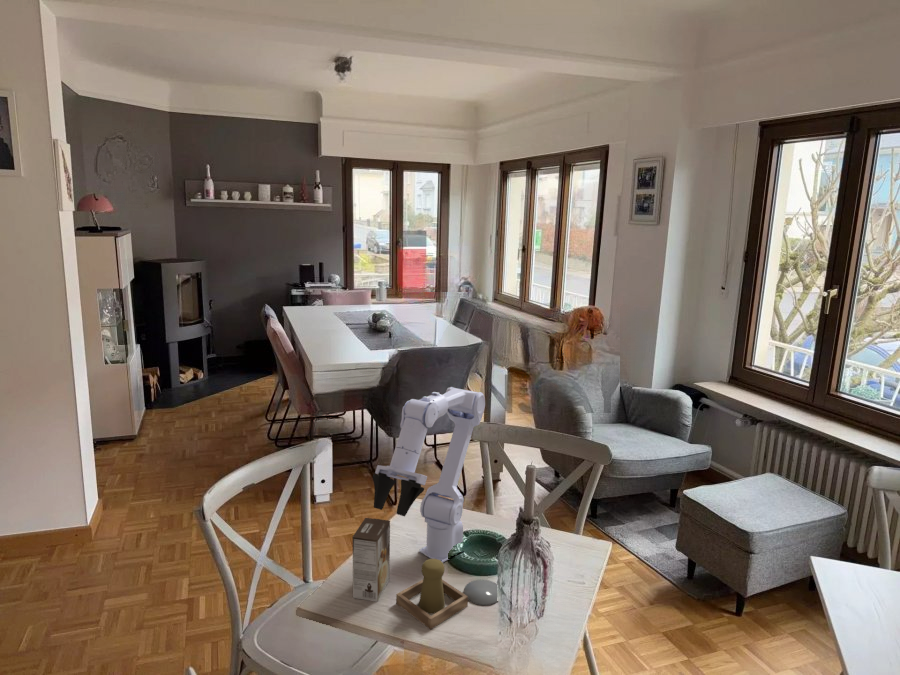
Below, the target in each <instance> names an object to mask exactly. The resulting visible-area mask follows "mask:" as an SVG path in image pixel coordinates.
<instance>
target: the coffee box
mask: <svg viewBox="0 0 900 675" xmlns="http://www.w3.org/2000/svg"><path fill="white" fill-rule="evenodd" d="M390 522H391V520H388V519H379V518H373V517H371V518H370V517H364V519H363V520H362V522H361V524H360V525H359V527H358V528H357V530H356V531H355V532H354V534H353V535H352V598H353V599H359V600H365V601H371V602H379V600H380V599H381V597H382V595H383V593H384V591H385V589H386V587H387V585H388V583H389V581H390V574H391V573H390V572H391V571H390V568H391V567H390V566H391V565H390V562H391V560H390V556H391V555H390V552H391V547H390V545H391V544H390V542H391V538H390V537H391V523H390Z"/></svg>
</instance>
